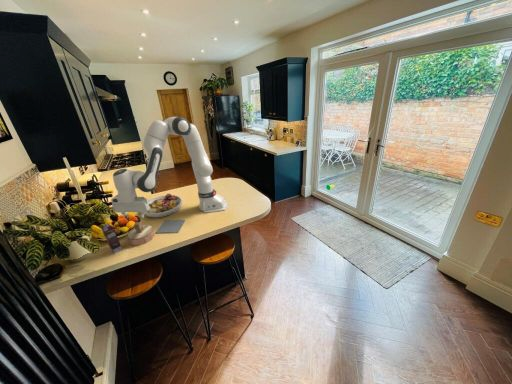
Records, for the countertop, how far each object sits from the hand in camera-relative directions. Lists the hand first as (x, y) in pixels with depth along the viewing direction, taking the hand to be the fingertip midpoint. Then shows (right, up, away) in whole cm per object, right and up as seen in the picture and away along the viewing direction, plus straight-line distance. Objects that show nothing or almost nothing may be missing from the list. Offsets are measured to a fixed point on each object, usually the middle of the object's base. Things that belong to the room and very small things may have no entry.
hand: (134, 217), depth 130 cm
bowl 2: (0, +2, +40) cm, 41 cm away
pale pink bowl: (+1, -10, +5) cm, 11 cm away
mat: (+15, -8, +17) cm, 24 cm away
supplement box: (-10, -19, -2) cm, 21 cm away
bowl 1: (+1, -14, +7) cm, 15 cm away
